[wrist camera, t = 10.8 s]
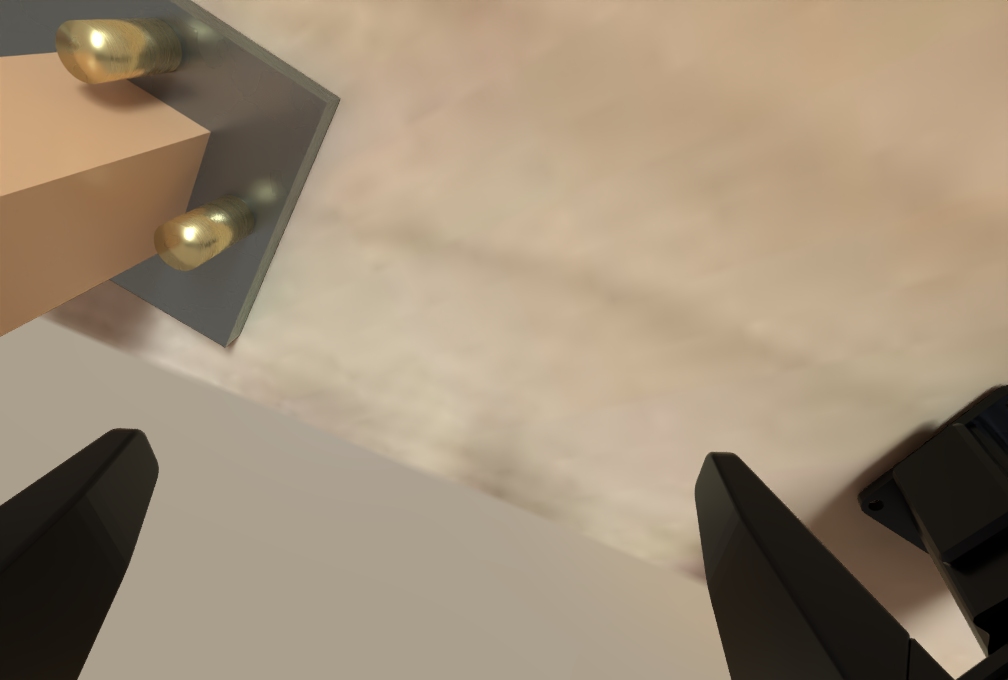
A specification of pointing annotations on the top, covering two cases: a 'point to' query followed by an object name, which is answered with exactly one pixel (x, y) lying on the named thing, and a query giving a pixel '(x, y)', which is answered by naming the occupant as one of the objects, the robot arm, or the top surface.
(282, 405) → the top surface
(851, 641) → the robot arm
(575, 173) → the top surface
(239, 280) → the chassis
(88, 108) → the block
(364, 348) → the top surface
